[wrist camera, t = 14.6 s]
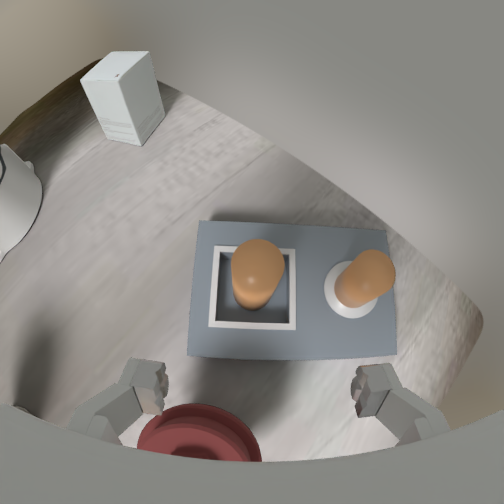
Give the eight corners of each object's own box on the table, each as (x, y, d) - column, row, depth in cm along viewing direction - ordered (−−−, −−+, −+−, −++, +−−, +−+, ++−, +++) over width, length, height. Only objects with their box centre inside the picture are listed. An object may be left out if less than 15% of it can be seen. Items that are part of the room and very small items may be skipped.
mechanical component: (144, 420, 26) (221, 377, 28) (197, 491, 23) (275, 450, 25) (90, 446, 14) (207, 387, 16) (174, 549, 11) (295, 499, 14)
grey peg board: (192, 356, 29) (172, 353, 20) (202, 232, 34) (190, 189, 25) (384, 356, 29) (428, 349, 21) (375, 240, 34) (409, 204, 26)
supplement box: (167, 115, 41) (152, 50, 29) (141, 148, 38) (116, 81, 27) (131, 109, 42) (112, 49, 30) (106, 139, 39) (77, 79, 28)
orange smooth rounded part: (232, 310, 30) (229, 289, 21) (233, 272, 31) (232, 238, 23) (271, 310, 30) (285, 290, 21) (271, 273, 31) (283, 239, 23)
